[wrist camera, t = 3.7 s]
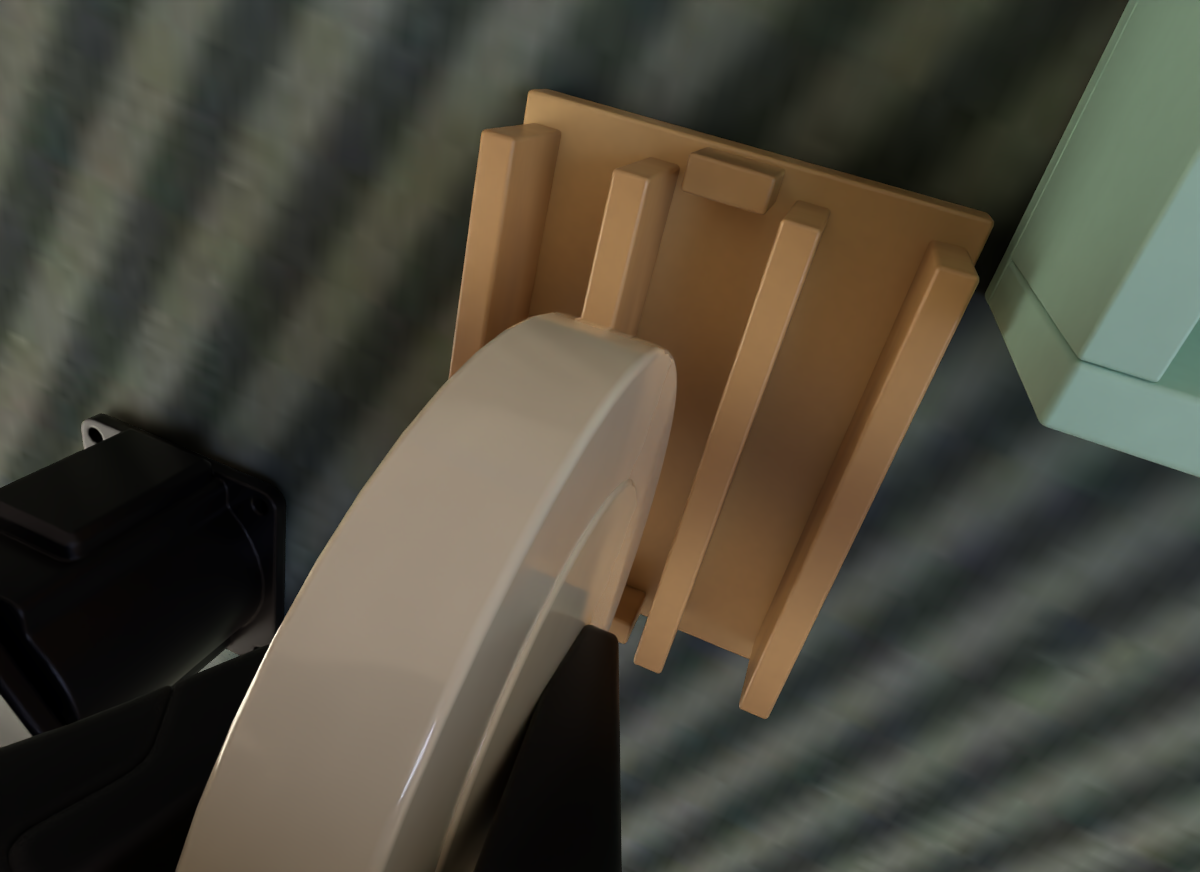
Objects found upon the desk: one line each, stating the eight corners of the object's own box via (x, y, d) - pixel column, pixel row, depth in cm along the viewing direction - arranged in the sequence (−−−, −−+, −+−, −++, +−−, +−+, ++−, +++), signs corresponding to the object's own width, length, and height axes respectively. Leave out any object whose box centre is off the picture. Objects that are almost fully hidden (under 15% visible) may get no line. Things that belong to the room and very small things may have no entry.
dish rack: (785, 650, 17) (768, 743, 15) (471, 521, 19) (410, 586, 16) (991, 213, 12) (1015, 246, 10) (545, 88, 14) (472, 89, 11)
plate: (594, 698, 13) (289, 1341, 7) (529, 669, 14) (169, 1260, 7) (729, 268, 10) (326, 742, 3) (635, 238, 10) (49, 608, 3)
